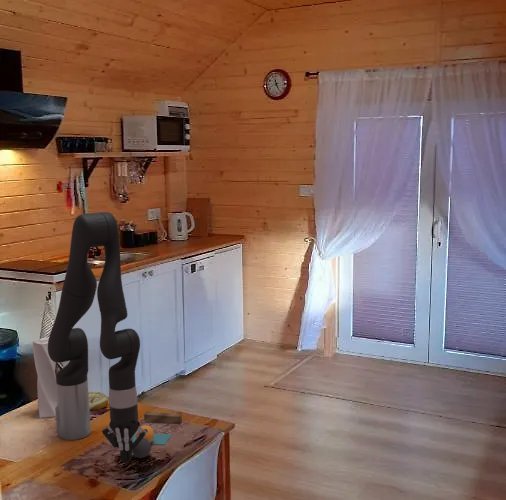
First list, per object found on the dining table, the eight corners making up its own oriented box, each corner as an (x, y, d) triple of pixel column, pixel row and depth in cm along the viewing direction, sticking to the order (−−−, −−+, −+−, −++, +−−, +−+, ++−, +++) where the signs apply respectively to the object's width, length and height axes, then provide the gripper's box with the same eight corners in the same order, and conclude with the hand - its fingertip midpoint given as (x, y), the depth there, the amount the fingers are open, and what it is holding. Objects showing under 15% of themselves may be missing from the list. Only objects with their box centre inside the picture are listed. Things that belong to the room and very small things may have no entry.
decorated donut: (90, 414, 213) (89, 404, 212) (69, 408, 219) (68, 397, 218) (114, 404, 221) (113, 394, 220) (93, 398, 227) (92, 387, 227)
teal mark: (126, 442, 191) (126, 441, 191) (134, 432, 198) (134, 431, 198) (164, 445, 189) (164, 444, 189) (171, 435, 195) (171, 434, 195)
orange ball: (131, 435, 186) (137, 420, 191) (135, 447, 189) (141, 433, 194) (149, 436, 185) (154, 422, 190) (152, 449, 188) (158, 434, 193)
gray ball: (141, 430, 184) (139, 445, 186) (128, 440, 179) (126, 455, 181) (156, 440, 181) (153, 455, 184) (143, 450, 177) (140, 465, 179)
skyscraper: (64, 409, 218) (58, 329, 214) (60, 418, 210) (54, 336, 206) (38, 411, 217) (32, 331, 213) (34, 420, 209) (27, 338, 205)
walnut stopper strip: (144, 421, 206) (144, 414, 205) (146, 419, 208) (146, 411, 207) (179, 424, 203) (179, 416, 203) (181, 421, 205) (181, 414, 205)
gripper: (94, 405, 171) (98, 466, 174) (141, 408, 169) (144, 470, 171) (106, 395, 178) (109, 453, 181) (151, 398, 176) (153, 457, 178)
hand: (126, 461), depth 176 cm, fingers closed
